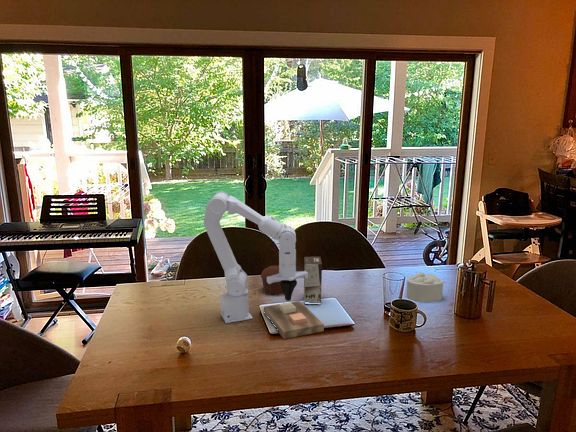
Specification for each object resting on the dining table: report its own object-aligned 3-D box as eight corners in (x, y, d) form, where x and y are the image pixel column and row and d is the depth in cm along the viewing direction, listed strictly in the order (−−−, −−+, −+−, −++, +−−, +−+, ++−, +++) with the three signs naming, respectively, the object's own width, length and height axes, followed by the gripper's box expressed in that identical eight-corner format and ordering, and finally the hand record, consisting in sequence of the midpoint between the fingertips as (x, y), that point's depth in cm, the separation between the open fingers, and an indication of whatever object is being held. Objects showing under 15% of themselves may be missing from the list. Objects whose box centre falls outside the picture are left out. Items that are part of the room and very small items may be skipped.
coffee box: (321, 305, 167) (322, 264, 163) (304, 305, 167) (304, 263, 163) (320, 295, 176) (321, 256, 172) (303, 295, 176) (304, 256, 172)
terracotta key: (293, 327, 147) (293, 320, 146) (288, 321, 151) (288, 314, 150) (306, 325, 148) (306, 318, 148) (300, 319, 152) (301, 312, 152)
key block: (283, 339, 142) (283, 331, 142) (263, 313, 160) (263, 306, 160) (323, 331, 147) (323, 324, 147) (299, 307, 165) (299, 300, 165)
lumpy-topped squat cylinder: (445, 301, 171) (446, 279, 169) (413, 303, 168) (414, 281, 166) (431, 290, 181) (433, 270, 179) (401, 292, 178) (402, 272, 176)
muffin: (256, 294, 177) (256, 270, 175) (266, 284, 187) (265, 261, 185) (285, 297, 174) (285, 273, 171) (293, 287, 184) (293, 264, 182)
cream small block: (283, 316, 155) (283, 309, 154) (279, 310, 159) (279, 304, 158) (295, 314, 156) (295, 307, 156) (291, 308, 160) (291, 302, 160)
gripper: (271, 269, 147) (272, 307, 150) (311, 263, 152) (311, 300, 155) (264, 262, 153) (265, 299, 157) (303, 257, 159) (303, 293, 162)
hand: (287, 299), depth 156 cm, fingers closed
